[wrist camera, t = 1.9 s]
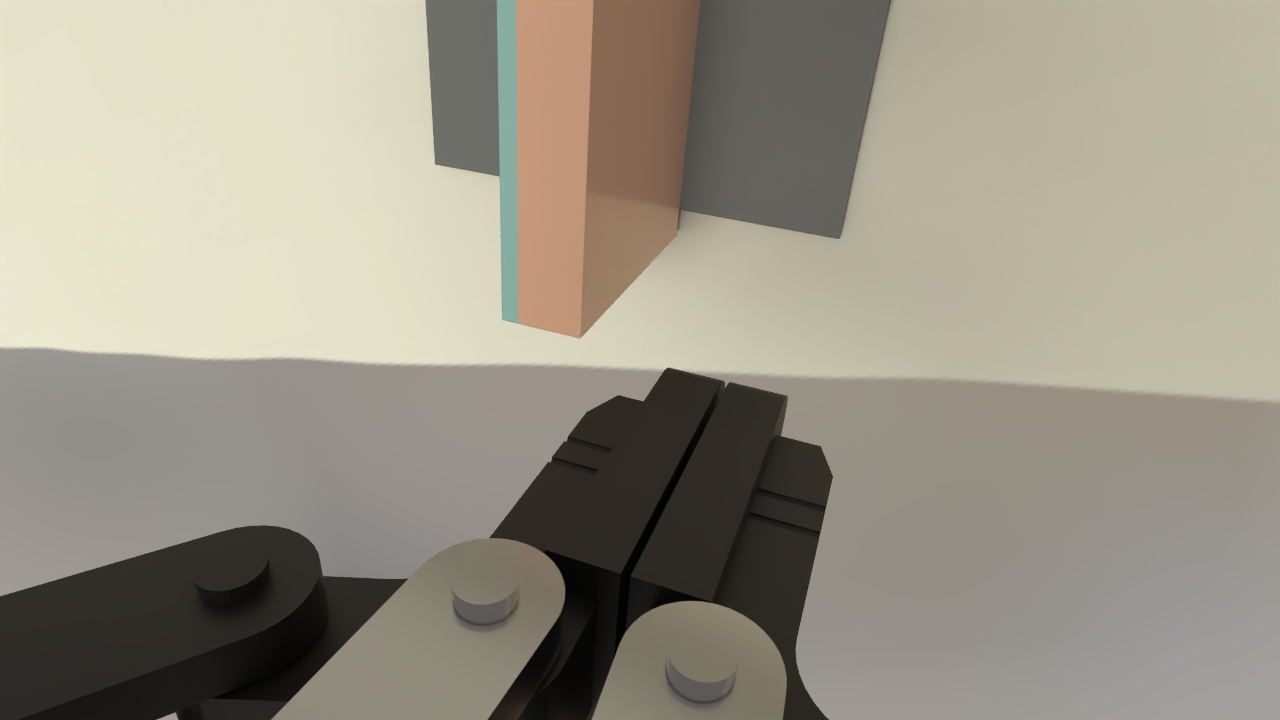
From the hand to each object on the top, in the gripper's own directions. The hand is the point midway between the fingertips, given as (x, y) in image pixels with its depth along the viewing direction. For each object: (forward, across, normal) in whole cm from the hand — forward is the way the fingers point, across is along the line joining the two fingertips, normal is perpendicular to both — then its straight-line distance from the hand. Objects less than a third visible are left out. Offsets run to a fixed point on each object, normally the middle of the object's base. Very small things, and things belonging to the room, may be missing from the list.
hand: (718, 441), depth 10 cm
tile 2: (+18, +7, 0) cm, 20 cm away
